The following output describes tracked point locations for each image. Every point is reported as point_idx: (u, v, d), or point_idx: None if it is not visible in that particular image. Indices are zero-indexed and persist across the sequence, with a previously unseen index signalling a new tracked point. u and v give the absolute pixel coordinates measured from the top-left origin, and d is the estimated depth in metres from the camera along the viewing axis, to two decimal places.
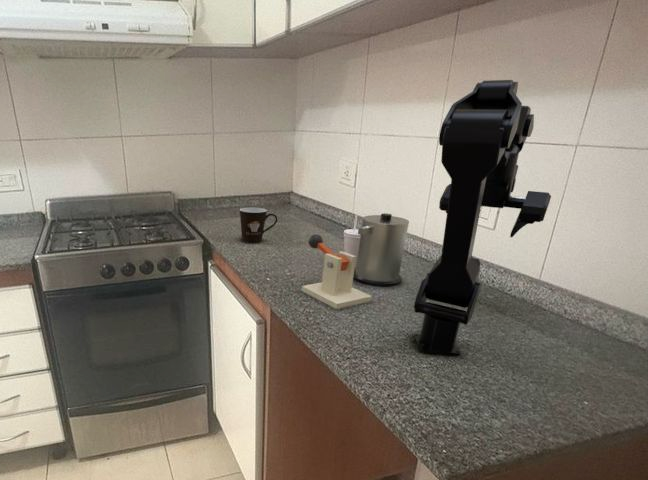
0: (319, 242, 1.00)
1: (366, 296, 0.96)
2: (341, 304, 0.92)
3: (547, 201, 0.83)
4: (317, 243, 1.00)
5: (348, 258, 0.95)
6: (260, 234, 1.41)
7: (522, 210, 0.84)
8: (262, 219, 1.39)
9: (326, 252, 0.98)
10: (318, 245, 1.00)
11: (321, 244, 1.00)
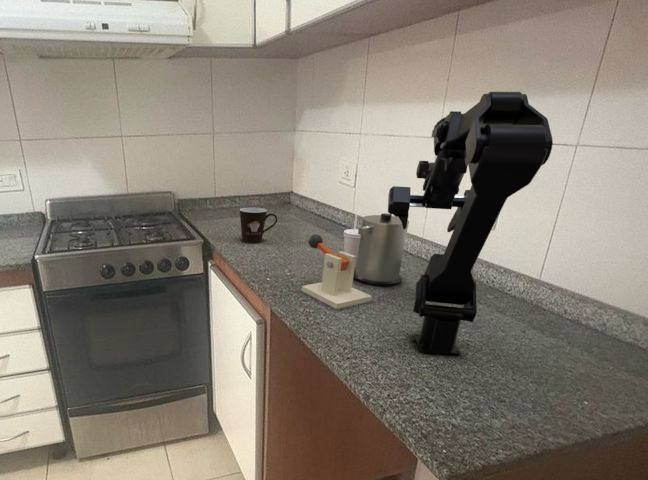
0: (319, 242, 1.00)
1: (366, 296, 0.96)
2: (341, 304, 0.92)
3: None
4: (317, 243, 1.00)
5: (348, 258, 0.95)
6: (260, 234, 1.41)
7: None
8: (262, 219, 1.39)
9: (326, 252, 0.98)
10: (318, 245, 1.00)
11: (321, 244, 1.00)
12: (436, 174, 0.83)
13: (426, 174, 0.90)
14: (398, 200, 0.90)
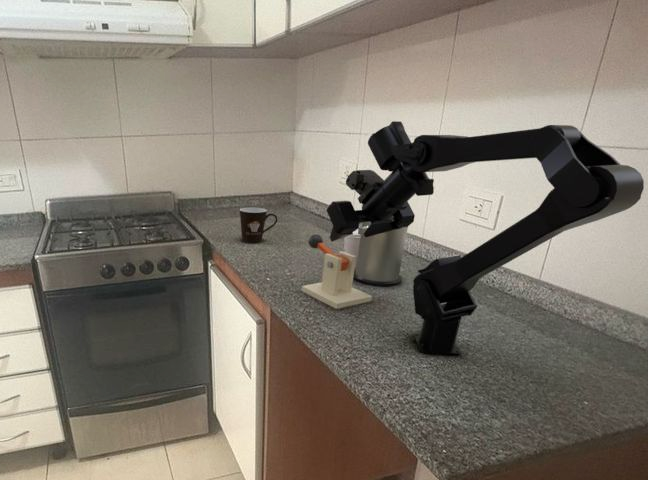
0: (319, 242, 1.00)
1: (366, 296, 0.96)
2: (341, 304, 0.92)
3: (410, 207, 0.89)
4: (317, 243, 1.00)
5: (348, 258, 0.95)
6: (260, 234, 1.41)
7: (402, 220, 0.87)
8: (262, 219, 1.39)
9: (326, 252, 0.98)
10: (318, 245, 1.00)
11: (321, 244, 1.00)
12: (395, 193, 0.78)
13: (363, 186, 0.84)
14: (349, 219, 0.82)
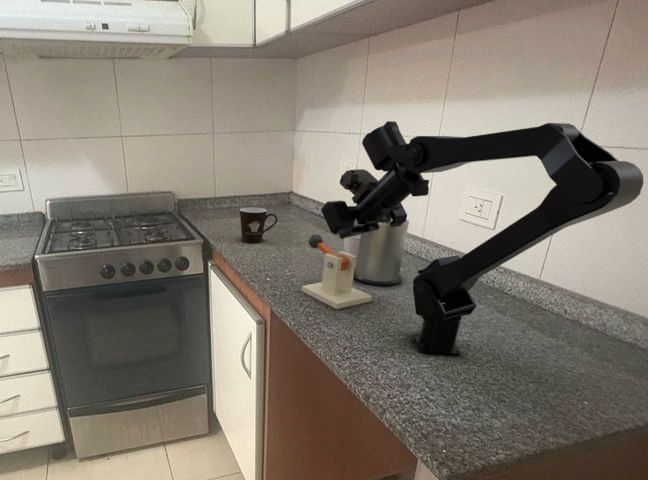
0: (319, 242, 1.00)
1: (366, 296, 0.96)
2: (341, 304, 0.92)
3: (402, 206, 0.90)
4: (317, 243, 1.00)
5: (348, 258, 0.95)
6: (260, 234, 1.41)
7: (395, 220, 0.88)
8: (262, 219, 1.39)
9: (326, 252, 0.98)
10: (318, 245, 1.00)
11: (321, 244, 1.00)
12: (390, 194, 0.78)
13: (357, 186, 0.84)
14: (344, 220, 0.82)
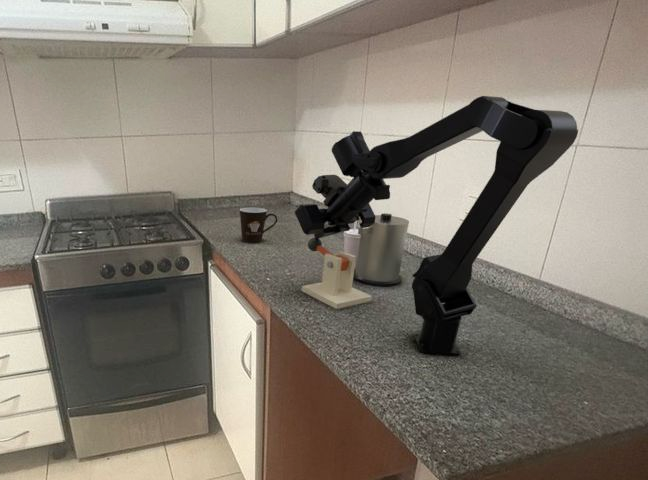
0: (318, 244, 1.01)
1: (366, 296, 0.96)
2: (341, 304, 0.92)
3: (371, 208, 0.97)
4: (316, 245, 1.01)
5: (348, 258, 0.95)
6: (260, 234, 1.41)
7: (364, 221, 0.95)
8: (262, 219, 1.39)
9: (326, 253, 0.99)
10: (317, 247, 1.01)
11: (320, 246, 1.00)
12: (356, 197, 0.85)
13: (328, 190, 0.91)
14: (315, 221, 0.89)
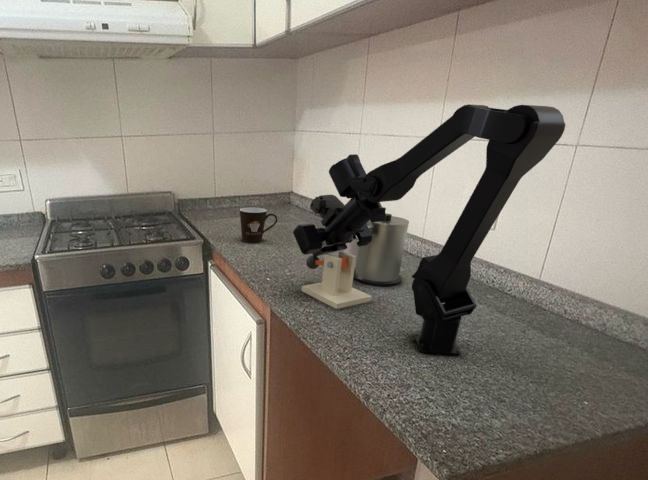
0: (316, 259, 1.02)
1: (366, 296, 0.96)
2: (341, 304, 0.92)
3: None
4: (314, 260, 1.02)
5: (348, 258, 0.95)
6: (260, 234, 1.41)
7: (361, 240, 0.97)
8: (262, 219, 1.39)
9: None
10: (316, 262, 1.02)
11: (318, 260, 1.02)
12: (353, 219, 0.87)
13: (325, 211, 0.93)
14: (313, 241, 0.91)
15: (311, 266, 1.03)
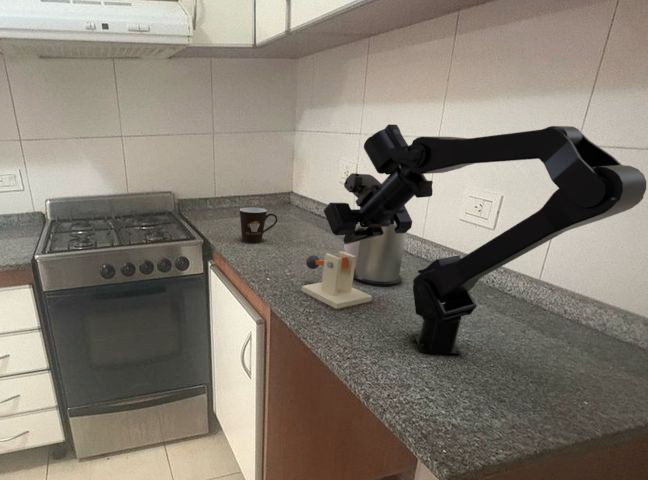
0: (316, 259, 1.02)
1: (366, 296, 0.96)
2: (341, 304, 0.92)
3: (408, 213, 0.89)
4: (314, 260, 1.02)
5: (348, 258, 0.95)
6: (260, 234, 1.41)
7: (400, 226, 0.87)
8: (262, 219, 1.39)
9: None
10: (316, 262, 1.02)
11: (318, 260, 1.02)
12: (394, 196, 0.77)
13: (361, 189, 0.84)
14: (346, 220, 0.81)
15: (311, 266, 1.03)
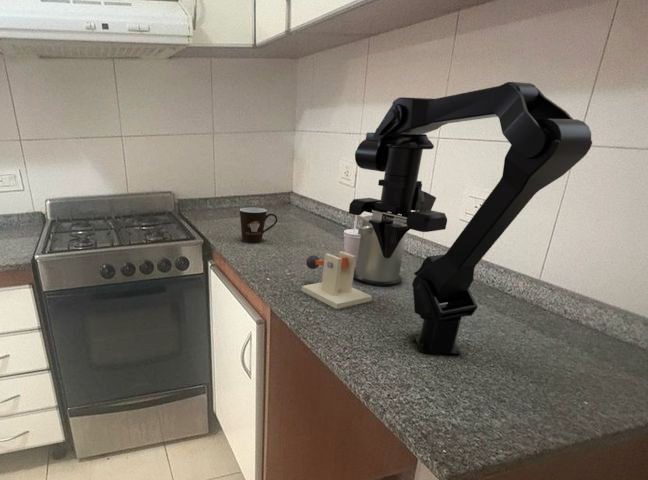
0: (316, 259, 1.02)
1: (366, 296, 0.96)
2: (341, 304, 0.92)
3: (437, 216, 0.75)
4: (314, 260, 1.02)
5: (348, 258, 0.95)
6: (260, 234, 1.41)
7: (409, 215, 0.77)
8: (262, 219, 1.39)
9: None
10: (316, 262, 1.02)
11: (318, 260, 1.02)
12: (399, 166, 0.77)
13: None
14: (359, 199, 0.87)
15: (311, 266, 1.03)
